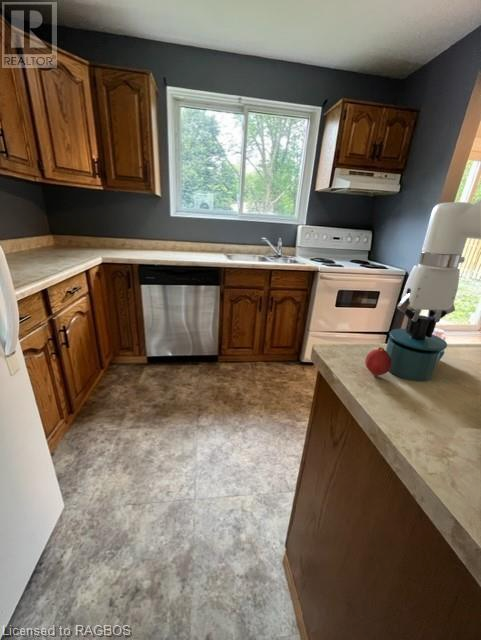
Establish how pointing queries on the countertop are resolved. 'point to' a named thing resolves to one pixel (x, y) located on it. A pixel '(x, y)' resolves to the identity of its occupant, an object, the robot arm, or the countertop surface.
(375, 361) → the onion
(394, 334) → the lid
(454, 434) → the countertop surface
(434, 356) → the pot
